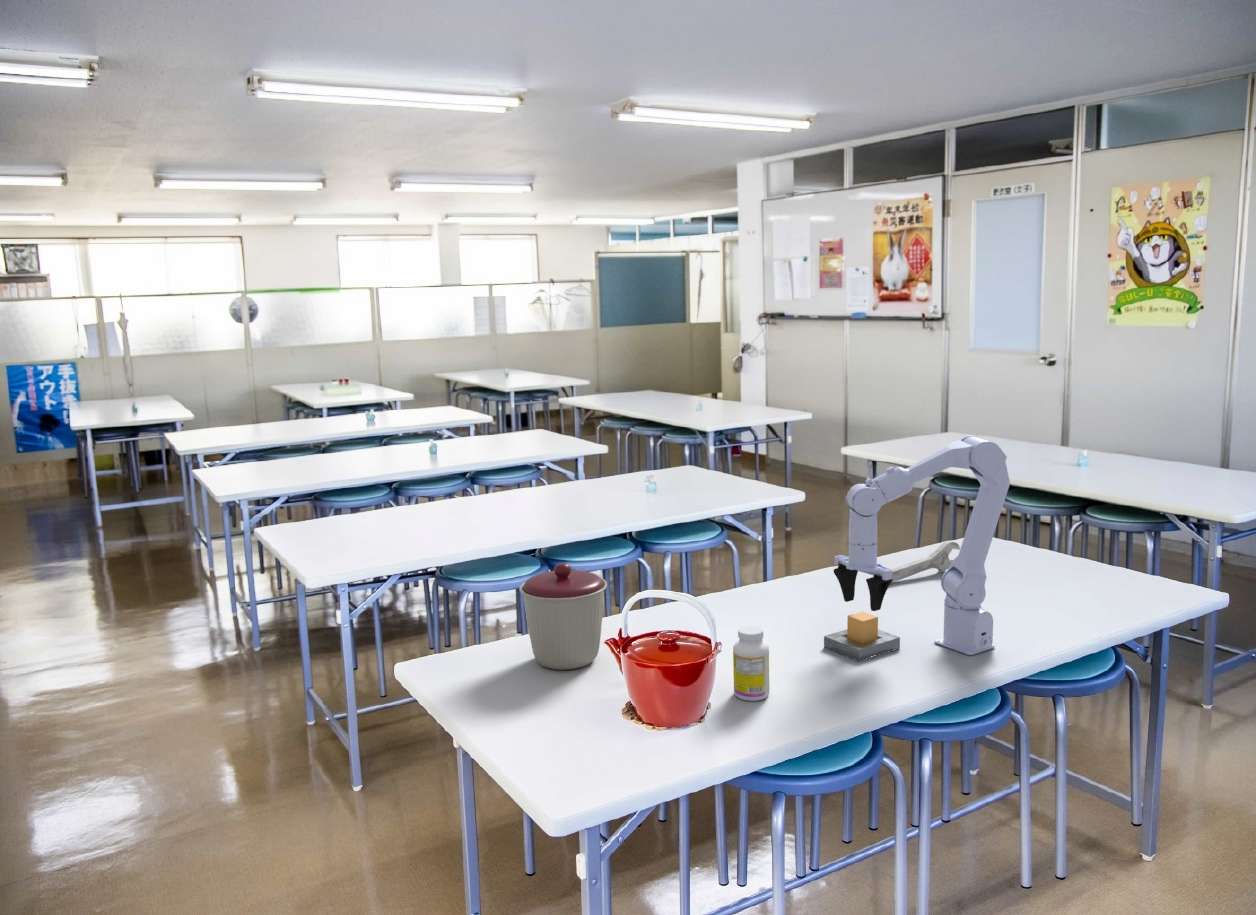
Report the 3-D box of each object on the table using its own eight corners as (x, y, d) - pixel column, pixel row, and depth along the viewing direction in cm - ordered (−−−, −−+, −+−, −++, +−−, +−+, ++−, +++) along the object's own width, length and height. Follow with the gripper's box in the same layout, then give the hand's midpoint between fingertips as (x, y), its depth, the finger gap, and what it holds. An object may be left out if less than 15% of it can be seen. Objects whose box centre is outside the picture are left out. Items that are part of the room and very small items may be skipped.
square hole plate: (899, 648, 200) (899, 637, 200) (858, 661, 194) (858, 649, 194) (864, 635, 209) (864, 624, 208) (824, 647, 203) (824, 636, 202)
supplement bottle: (746, 685, 184) (745, 621, 182) (775, 693, 180) (775, 628, 178) (726, 696, 179) (725, 631, 177) (757, 705, 175) (756, 638, 173)
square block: (877, 648, 201) (878, 616, 200) (862, 653, 199) (863, 621, 198) (861, 642, 205) (862, 611, 203) (847, 647, 202) (847, 615, 201)
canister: (593, 640, 211) (589, 547, 207) (622, 668, 194) (619, 568, 191) (513, 653, 205) (508, 558, 201) (536, 684, 188) (531, 580, 184)
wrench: (870, 597, 244) (956, 566, 257) (875, 599, 242) (961, 567, 255) (868, 567, 242) (954, 537, 255) (873, 569, 241) (960, 539, 253)
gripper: (823, 538, 202) (823, 600, 204) (875, 552, 190) (874, 618, 192) (848, 533, 205) (847, 594, 208) (900, 546, 193) (899, 611, 195)
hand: (862, 605), depth 200 cm, fingers open, 7 cm apart
